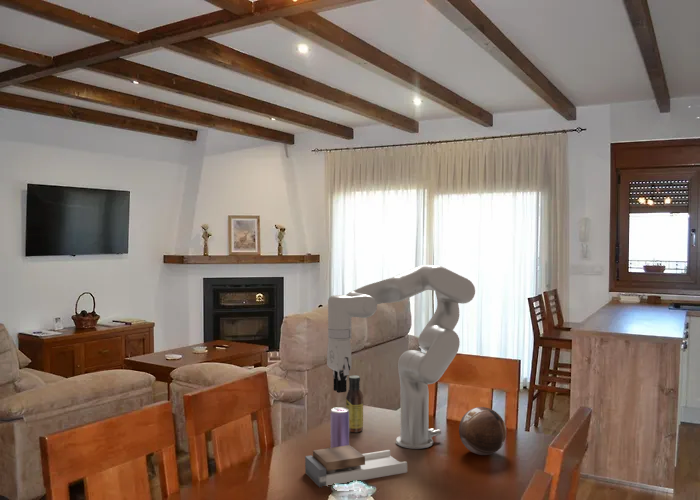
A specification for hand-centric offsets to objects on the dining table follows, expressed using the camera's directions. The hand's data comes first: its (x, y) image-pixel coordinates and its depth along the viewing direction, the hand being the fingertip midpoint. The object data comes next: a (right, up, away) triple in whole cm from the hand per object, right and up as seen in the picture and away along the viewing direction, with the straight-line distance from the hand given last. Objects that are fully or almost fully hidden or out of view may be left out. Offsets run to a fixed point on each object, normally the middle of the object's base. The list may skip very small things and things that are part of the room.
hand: (340, 390), depth 201 cm
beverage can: (0, -21, +1) cm, 21 cm away
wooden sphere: (+46, -21, +2) cm, 51 cm away
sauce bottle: (+5, -21, +27) cm, 34 cm away
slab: (0, -20, -16) cm, 25 cm away
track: (+5, -21, -13) cm, 26 cm away
